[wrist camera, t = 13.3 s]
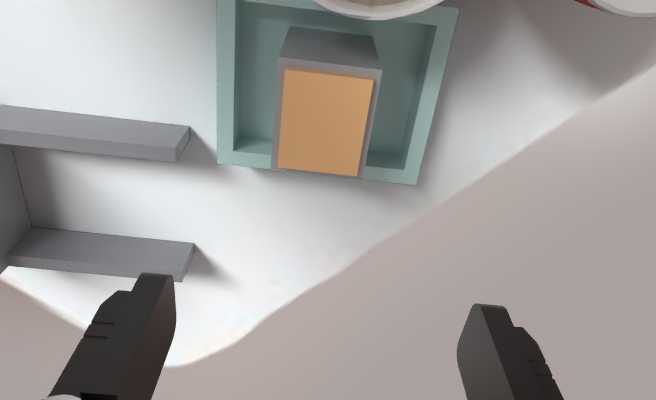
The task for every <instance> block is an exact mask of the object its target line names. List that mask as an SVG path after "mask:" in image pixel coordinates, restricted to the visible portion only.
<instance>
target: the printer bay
mask: <svg viewBox="0 0 656 400" xmlns="http://www.w3.org/2000/svg"><path fill="white" fill-rule="evenodd" d="M189 140H190V128H189V126H182V125H173V124H165V123H156V122H147V121H138V120H129V119H121V118H112V117H103V116H94V115H85V114H77V113H68V112H59V111H50V110H42V109H33V108H24V107H15V106H6V105H0V274H1V273H2V272H3V271H4V270H5V269H6V268H7V267H8V266H16V267H27V268H37V269H47V270H58V271H68V272H79V273H89V274H99V275H110V276H120V277H130V278H138V277H139V276H140V274H141V273H142V272H148V273H159V274H170V275H172V276H173V279H174V282H182V281H183V279H184V277H185V274H186V272H187V269H188V267H189V264H190V262H191V259H192V257H193V254H194V243H186V242H176V241H166V240H156V239H146V238H136V237H126V236H116V235H106V234H96V233H86V232H76V231H67V230H57V229H47V228H37V227H32V226H31V222H30V218H29V214H28V210H27V206H26V202H25V198H24V195H23V191H22V187H21V183H20V179H19V175H18V171H17V167H16V163H15V159H14V155H13V151H12V147H11V145H19V146H28V147H37V148H46V149H55V150H65V151H74V152H83V153H92V154H101V155H110V156H119V157H128V158H138V159H147V160H156V161H165V162H174V163H176V161H177V160H178V158H179V156H180V155H181V153H182V152H183V150H184V148H185V147H186V145H187V144H188V142H189Z"/></svg>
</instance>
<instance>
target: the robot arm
mask: <svg viewBox="0 0 656 400" xmlns="http://www.w3.org/2000/svg"><path fill="white" fill-rule="evenodd" d="M175 327H176V305H175V291H174V279H173V276H172V275H170V274H159V273H148V272H142V273H141V274H140V276H139V277H138V279H137V281H136V283H135V285H134V287H133V289H132V291H120V290H118V291H117V292H115V293H114V294H113V295H112V296H110V297H109V298H108V299H107V300H106V301H104V302H103V303H102V304H101V305H100V307H99V309H98V311H97V312H96V314H95V316H94V318H93V319H92V323H91V324H90V325H89V326H88V328H87V330H86V332H85V334H84V337H83V339H81V341H80V342H79V344H78V346H77V348H76V350H75V351H74V353H73V355H72V356H71V358H70V360H69V362H68V363H67V365H66V367H65V369H64V370H63V372H62V374H61V376H60V377H59V379H58V381H57V383H56V385H55V386H54V388H53V390H52V391H51V393H50V394H49V396H48V397H47V398H45V399H42V400H151V398H152V395H153V393H154V390H155V387H156V384H157V381H158V379H159V376H160V373H161V370H162V368H163V365H164V362H165V359H166V357H167V354H168V351H169V348H170V346H171V343H172V340H173V337H174V332H175ZM457 362H458V367H459V370H460V374H461V377H462V381H463V385H464V388H465V392H466V396H467V399H468V400H564V399H563V397H562V395H561V393H560V391H559V388H558V386H557V384H556V382H555V380H554V379H552V374H551V371H550V369H549V367H548V365H547V364H545V359H544V357H543V354H542V352H541V350H540V348H539V346H538V344H537V342H536V341H535V340H534V339H533V338H532V337H531V336H530V335H529V334H528V333H527V332H526V331H525V330H524V328H522V327H514V326H513V323H512V321H511V319H510V317H509V314H508V312H507V310H506V308H505V307H503V306H496V305H486V304H474V305H473V306H472V308H471V310H470V313H469V316H468V318H467V321H466V323H465V326H464V329H463V331H462V334H461V337H460V339H459V342H458V347H457Z"/></svg>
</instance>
